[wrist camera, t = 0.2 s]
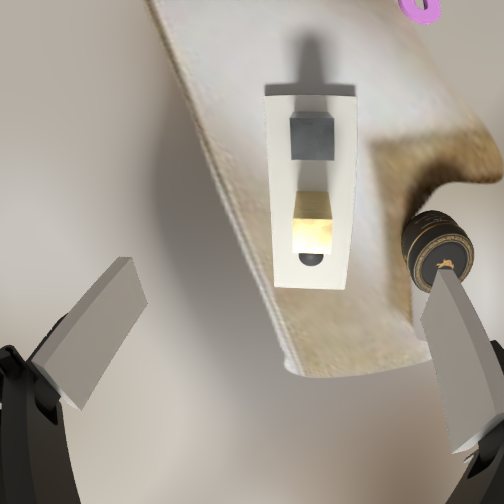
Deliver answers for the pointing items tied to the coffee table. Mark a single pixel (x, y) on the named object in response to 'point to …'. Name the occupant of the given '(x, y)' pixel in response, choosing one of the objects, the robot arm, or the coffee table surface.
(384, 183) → the coffee table surface
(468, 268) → the jar
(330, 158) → the fixed leg
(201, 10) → the coffee table surface
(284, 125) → the board
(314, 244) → the block
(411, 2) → the bracket
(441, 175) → the coffee table surface
